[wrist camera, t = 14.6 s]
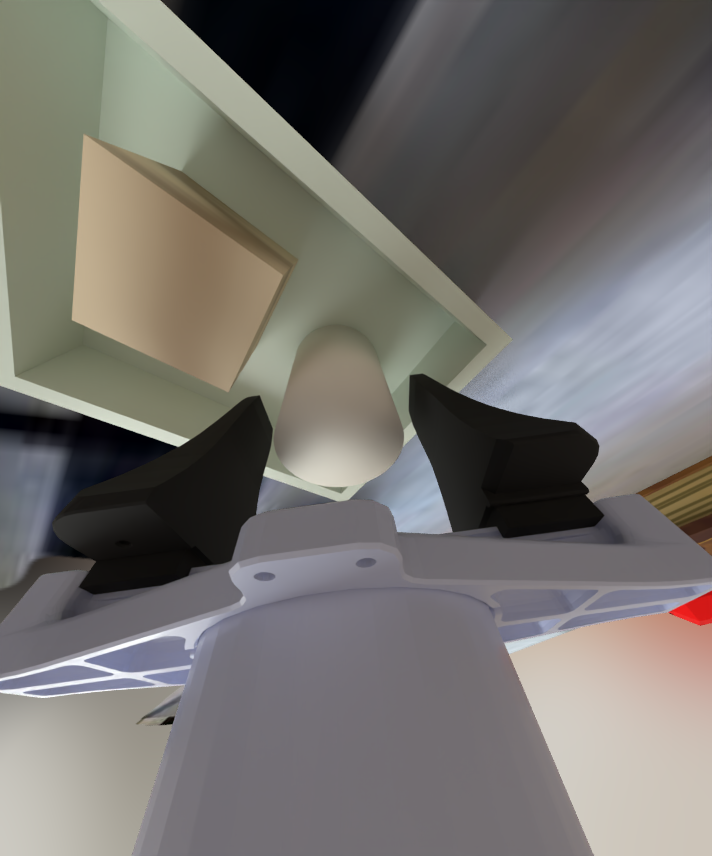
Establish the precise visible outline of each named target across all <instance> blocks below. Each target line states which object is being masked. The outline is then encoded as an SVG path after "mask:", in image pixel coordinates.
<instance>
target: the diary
mask: <svg viewBox="0 0 712 856" xmlns="http://www.w3.org/2000/svg"><path fill="white" fill-rule="evenodd" d="M636 494H640V495H641V496H642V497H643V498H645V499H646V500H647V501H648V502H649V503H650V504H652V505H653V506H654V507H655V508H656V509H657V510H659V511H660V512H661V513H662V514H663V515H664V516H666V517H667V518H668V519H669V520H670V521H671V522H673V523H674V524H675V525H676V526H677V527H678V528H680V529H681V530H682V531H683V532H684V533H685V534H687V535H688V536H689V537H690V538H691V539H692V540H694V541H695V542H696V543H697V544H698V545H699V546H701V547H702V548H703V549H704V550H705V551H706V552H708V553H709V554H710V555H711V556H712V456H711V457H709V458H707V459H705V460H703V461H701V462H699V463H697V464H695V465H693V466H691V467H689V468H687V469H684V470H682V471H680V472H678V473H676V474H674V475H672V476H670V477H668V478H666V479H664V480H662V481H660V482H658V483H656V484H654V485H652V486H650V487H648V488H646V489H644V490H642V491H640V492H638V493H636Z"/></svg>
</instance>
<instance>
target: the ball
mask: <svg viewBox="0 0 712 856" xmlns="http://www.w3.org/2000/svg"><path fill="white" fill-rule="evenodd" d="M669 613H670V614H672V615H675V616H677V617H680V618H682V619H685V620H687V621H690V622H692V623H695V624H697V625H700V626H701V625H705V624H709V623H712V591H710V592H708V593H706V594H704V595H702V596H700V597H698V598H696V599H694V600H692V601H690V602H688V603H686V604H684V605H681V606H679V607H677V608H675V609H673V610H671V611H669Z"/></svg>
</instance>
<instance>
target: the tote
mask: <svg viewBox="0 0 712 856" xmlns="http://www.w3.org/2000/svg"><path fill="white" fill-rule="evenodd" d="M84 134H86V135H89V136H91V137H94V138H96V139H99V140H102V141H104V142H107V143H109V144H112V145H115V146H117V147H120V148H122V149H125V150H128V151H130V152H133V153H135V154H138V155H141V156H143V157H146V158H149V159H151V160H154V161H156V162H159V163H162V164H164V165H167V166H169V167H172V168H175V169H177V170H180V171H182V172H183V173H185V174H186V175H187V176H189V177H190V178H191V179H192V180H194V181H195V182H196V183H198V184H199V185H200V186H202V187H203V188H204V189H206V190H207V191H208V192H210V193H211V194H212V195H214V196H215V197H216V198H218V199H219V200H220V201H222V202H223V203H224V204H226V205H227V206H228V207H229V208H231V209H232V210H233V211H235V212H236V213H237V214H239V215H240V216H241V217H243V218H244V219H245V220H247V221H248V222H249V223H251V224H252V225H253V226H255V227H256V228H257V229H259V230H260V231H261V232H263V233H264V234H265V235H266V236H268V237H269V238H270V239H272V240H273V241H274V242H276V243H277V244H278V245H280V246H281V247H282V248H284V249H285V250H286V251H288V252H289V253H290V254H292V255H293V256H294V257H296V258H297V259H298V262H297V264H296V266H295V268H294V270H293V272H292V274H291V276H290V278H289V280H288V282H287V284H286V287H285V289H284V291H283V293H282V295H281V297H280V299H279V301H278V303H277V305H276V307H275V309H274V311H273V314H272V316H271V318H270V320H269V322H268V324H267V326H266V328H265V330H264V332H263V334H262V336H261V338H260V341H259V343H258V345H257V347H256V349H255V350H254V352H253V353H252V355H251V357H250V358H249V360H248V362H247V363H246V365H245V366H244V368H243V370H242V371H241V373H240V375H239V376H238V378H237V380H236V381H235V383H234V384H233V386H232V388H231V389H230V391H229V393H228V392H226V391H224V390H222V389H220V388H218V387H215V386H213V385H211V384H209V383H207V382H205V381H202V380H200V379H198V378H196V377H194V376H192V375H189V374H187V373H185V372H183V371H181V370H179V369H176V368H174V367H172V366H170V365H168V364H166V363H164V362H161V361H159V360H157V359H155V358H153V357H151V356H148V355H146V354H144V353H142V352H140V351H138V350H135V349H133V348H131V347H129V346H127V345H125V344H122V343H120V342H118V341H116V340H114V339H112V338H109V337H107V336H105V335H103V334H101V333H99V332H97V331H94V330H92V329H90V328H88V327H86V326H84V325H81V324H79V323H77V322H75V321H73V320H72V307H73V291H74V276H75V260H76V245H77V229H78V213H79V198H80V182H81V167H82V151H83V135H84ZM329 325H343V326H348V327H351V328H353V329H356V330H357V331H359V332H361V333H362V334H363V335H365V336H366V337H367V338H368V339H369V341H370V342H371V343H372V345H373V347H374V349H375V351H376V354H377V357H378V359H379V362H380V365H381V368H382V371H383V373H384V376H385V379H386V382H387V384H388V387H389V390H390V393H391V396H392V398H393V401H394V404H395V407H396V410H397V412H398V415H399V418H400V421H401V424H402V426H403V431H404V443H403V446H404V445H405V444H406V443H407V442H408V441H409V440H410V439H411V438H412V437H413V436H415V435H416V434H417V433H416V431H415V429H414V427H413V424H412V421H411V417H410V414H409V377H410V375H414V374H421V373H423V374H425V375H427V376H429V377H430V378H432V379H434V380H436V381H437V382H439V383H441V384H443V385H444V386H446V387H448V388H450V389H452V390H454V391H456V392H458V393H459V392H460V391H461V390H462V389H463V388H464V387H465V386H466V385H467V384H468V383H469V382H470V381H471V380H472V379H473V378H474V377H475V376H476V375H477V374H478V373H479V372H480V371H481V370H482V369H483V368H484V367H485V366H486V365H487V364H488V363H489V362H490V361H491V360H492V359H493V358H494V357H495V356H496V355H498V354H499V353H500V352H501V351H502V350H503V349H504V348H505V347H506V346H507V345H508V344H509V343H510V342H511V341H512V339H511V338H510V337H509V336H508V335H507V334H506V333H505V332H504V331H503V330H502V329H501V328H500V327H499V326H498V325H497V324H496V323H495V322H494V321H493V320H492V319H491V318H490V317H489V316H488V315H487V314H485V313H484V312H483V311H482V310H481V309H480V308H479V307H478V306H477V305H476V304H475V303H474V302H473V301H472V300H471V299H470V298H469V297H468V296H467V295H466V294H465V293H464V292H463V291H462V290H461V289H460V288H458V287H457V286H456V285H455V284H454V283H453V282H452V281H451V280H450V279H449V278H448V277H447V276H446V275H445V274H444V273H443V272H442V271H441V270H440V269H439V268H438V267H437V266H436V265H435V264H434V263H433V262H431V261H430V260H429V259H428V258H427V257H426V256H425V255H424V254H423V253H422V252H421V251H420V250H419V249H418V248H417V247H416V246H415V245H414V244H413V243H412V242H411V241H410V240H409V239H408V238H407V237H406V236H404V235H403V234H402V233H401V232H400V231H399V230H398V229H397V228H396V227H395V226H394V225H393V224H392V223H391V222H390V221H389V220H388V219H387V218H386V217H385V216H384V215H383V214H382V213H381V212H380V211H379V210H377V209H376V208H375V207H374V206H373V205H372V204H371V203H370V202H369V201H368V200H367V199H366V198H365V197H364V196H363V195H362V194H361V193H360V192H359V191H358V190H357V189H356V188H355V187H354V186H353V185H352V184H350V183H349V182H348V181H347V180H346V179H345V178H344V177H343V176H342V175H341V174H340V173H339V172H338V171H337V170H336V169H335V168H334V167H333V166H332V165H331V164H330V163H329V162H328V161H327V160H326V159H325V158H324V157H322V156H321V155H320V154H319V153H318V152H317V151H316V150H315V149H314V148H313V147H312V146H311V145H310V144H309V143H308V142H307V141H306V140H305V139H304V138H303V137H302V136H301V135H300V134H299V133H298V132H297V131H295V130H294V129H293V128H292V127H291V126H290V125H289V124H288V123H287V122H286V121H285V120H284V119H283V118H282V117H281V116H280V115H279V114H278V113H277V112H276V111H275V110H274V109H273V108H272V107H271V106H270V105H268V104H267V103H266V102H265V101H264V100H263V99H262V98H261V97H260V96H259V95H258V94H257V93H256V92H255V91H254V90H253V89H252V88H251V87H250V86H249V85H248V84H247V83H246V82H245V81H244V80H243V79H241V78H240V77H239V76H238V75H237V74H236V73H235V72H234V71H233V70H232V69H231V68H230V67H229V66H228V65H227V64H226V63H225V62H224V61H223V60H222V59H221V58H220V57H219V56H218V55H217V54H216V53H214V52H213V51H212V50H211V49H210V48H209V47H208V46H207V45H206V44H205V43H204V42H203V41H202V40H201V39H200V38H199V37H198V36H197V35H196V34H195V33H194V32H193V31H192V30H191V29H190V28H189V27H187V26H186V25H185V24H184V23H183V22H182V21H181V20H180V19H179V18H178V17H177V16H176V15H175V14H174V13H173V12H172V11H171V10H170V9H169V8H168V7H167V6H166V5H165V4H164V3H163V2H162V1H160V0H0V386H3V387H6V388H9V389H12V390H15V391H17V392H20V393H23V394H26V395H29V396H32V397H35V398H38V399H41V400H44V401H47V402H50V403H52V404H55V405H58V406H61V407H64V408H67V409H70V410H73V411H76V412H79V413H82V414H85V415H87V416H90V417H93V418H96V419H99V420H102V421H105V422H108V423H111V424H114V425H117V426H120V427H122V428H125V429H128V430H131V431H134V432H137V433H140V434H143V435H146V436H149V437H152V438H155V439H158V440H160V441H163V442H166V443H169V444H172V445H175V446H178V447H179V446H181V445H183V444H184V443H186V442H187V441H189V440H191V439H192V438H194V437H195V436H197V435H198V434H200V433H201V432H202V431H204V430H205V429H206V428H208V427H209V426H210V425H212V424H213V423H214V422H216V421H217V420H218V419H219V418H221V417H222V416H223V415H224V414H226V413H227V412H228V411H229V410H231V409H232V408H233V407H234V406H235V405H237V404H238V403H239V402H240V401H242V400H243V399H245V398H246V397H251V396H258V395H260V397H261V400H262V402H263V405H264V407H265V410H266V412H267V415H268V417H269V420H270V422H271V425H272V427H273V434H272V443H271V449H270V452H269V456H268V460H267V464H266V467H265V471H264V474H263V476H265V477H268V478H271V479H274V480H277V481H280V482H283V483H286V484H289V485H292V486H295V487H298V488H300V489H303V490H306V491H309V492H312V493H315V494H318V495H321V496H324V497H327V498H330V499H333V500H335V501H345V500H349V499H350V498H351V497H352V496H353V495H354V494H355V493H356V492H357V491H358V490H359V489H360V488H361V487H362V486H363V485H364V484H365V483H366V482H365V483H362V484H358V485H353V486H347V487H327V486H321V485H316V484H313V483H310V482H307V481H305V480H302V479H301V478H299V477H297V476H295V475H294V474H293V473H291V472H290V471H289V470H288V469H287V468H286V467H285V466H284V465H283V464H282V463H281V461H280V460H279V458H278V456H277V454H276V451H275V447H274V431H275V428H276V424H277V420H278V417H279V413H280V410H281V406H282V402H283V399H284V395H285V392H286V388H287V384H288V381H289V377H290V373H291V370H292V366H293V363H294V359H295V355H296V352H297V349H298V347H299V345H300V344H301V342H302V341H303V340H304V338H305V337H306V336H307V335H309V334H310V333H311V332H313V331H314V330H316V329H319V328H321V327H324V326H329Z"/></svg>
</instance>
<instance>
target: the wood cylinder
mask: <svg viewBox="0 0 712 856" xmlns="http://www.w3.org/2000/svg"><path fill="white" fill-rule="evenodd" d="M403 443H404V431H403V426H402V424H401V421H400V418H399V415H398V412H397V410H396V407H395V404H394V401H393V398H392V396H391V393H390V390H389V387H388V384H387V382H386V379H385V376H384V373H383V371H382V368H381V365H380V362H379V359H378V357H377V354H376V351H375V349H374V347H373V345H372V343H371V342H370V341H369V339H368V338H367V337H366V336H365V335H363V334H362V333H361V332H359V331H357V330H356V329H353V328H351V327H348V326H343V325H329V326H324V327H321V328H319V329H316V330H314V331H313V332H311V333H310V334H309V335H307V336H306V337H305V338H304V340H303V341H302V342H301V344H300V345H299V347H298V349H297V352H296V355H295V359H294V363H293V366H292V370H291V373H290V377H289V381H288V384H287V388H286V392H285V395H284V399H283V402H282V406H281V410H280V413H279V417H278V420H277V424H276V428H275V431H274V447H275V451H276V454H277V456H278V458H279V460H280V461H281V463H282V464H283V465H284V466H285V467H286V468H287V469H288V470H289V471H290V472H291V473H293V474H294V475H295V476H297V477H299V478H301V479H302V480H305V481H307V482H310V483H313V484H316V485H321V486H327V487H347V486H353V485H358V484H362V483H365V482H367V481H370V480H372V479H374V478H376V477H378V476H380V475H381V474H383V473H384V472H385V471H386V470H388V469H389V468H390V467H391V466H392V465H393V464H394V462H395V461H396V460H397V458H398V457H399V455H400V453H401V450H402V447H403Z"/></svg>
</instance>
